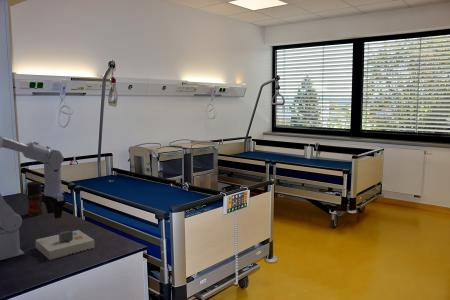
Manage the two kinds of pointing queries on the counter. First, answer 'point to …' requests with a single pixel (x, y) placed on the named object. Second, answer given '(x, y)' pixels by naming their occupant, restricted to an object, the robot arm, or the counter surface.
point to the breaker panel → (64, 245)
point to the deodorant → (34, 198)
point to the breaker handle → (65, 236)
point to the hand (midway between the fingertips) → (54, 215)
